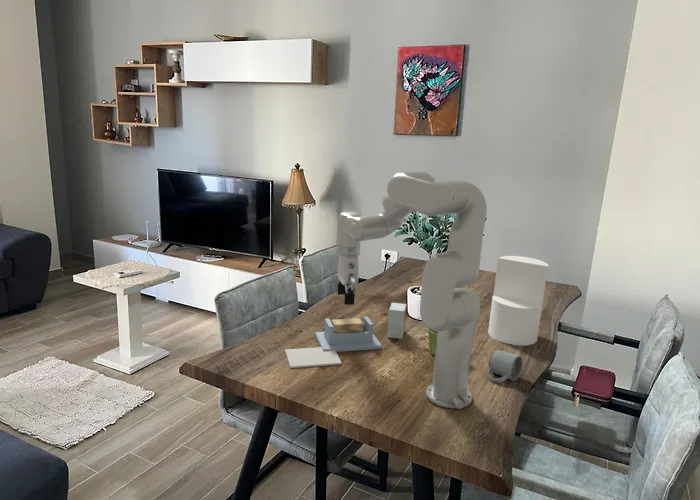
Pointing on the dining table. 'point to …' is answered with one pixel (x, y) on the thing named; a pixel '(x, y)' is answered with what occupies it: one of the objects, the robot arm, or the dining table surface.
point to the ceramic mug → (505, 366)
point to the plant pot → (432, 341)
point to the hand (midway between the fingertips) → (345, 299)
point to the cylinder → (517, 300)
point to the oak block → (347, 325)
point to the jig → (348, 338)
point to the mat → (311, 357)
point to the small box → (396, 320)
